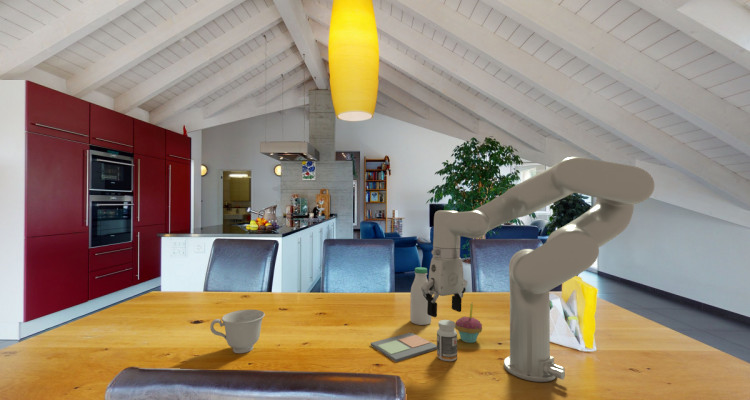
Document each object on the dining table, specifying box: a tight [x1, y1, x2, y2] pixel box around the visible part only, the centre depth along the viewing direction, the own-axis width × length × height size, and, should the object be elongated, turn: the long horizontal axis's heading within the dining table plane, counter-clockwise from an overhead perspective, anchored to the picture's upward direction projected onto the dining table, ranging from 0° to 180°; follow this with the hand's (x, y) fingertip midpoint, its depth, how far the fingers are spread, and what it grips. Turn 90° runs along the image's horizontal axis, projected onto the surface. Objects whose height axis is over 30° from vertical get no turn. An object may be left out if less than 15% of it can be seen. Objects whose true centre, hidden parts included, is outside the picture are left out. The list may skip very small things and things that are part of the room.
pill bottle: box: [436, 319, 458, 362], centre depth 94 cm, size 6×6×10 cm
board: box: [370, 332, 437, 363], centre depth 100 cm, size 13×16×1 cm
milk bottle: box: [409, 266, 432, 326], centre depth 123 cm, size 8×8×20 cm
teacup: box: [210, 309, 265, 354], centre depth 98 cm, size 12×15×10 cm
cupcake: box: [455, 303, 483, 344], centre depth 106 cm, size 9×8×12 cm
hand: (444, 313), depth 94 cm, fingers open, 9 cm apart
